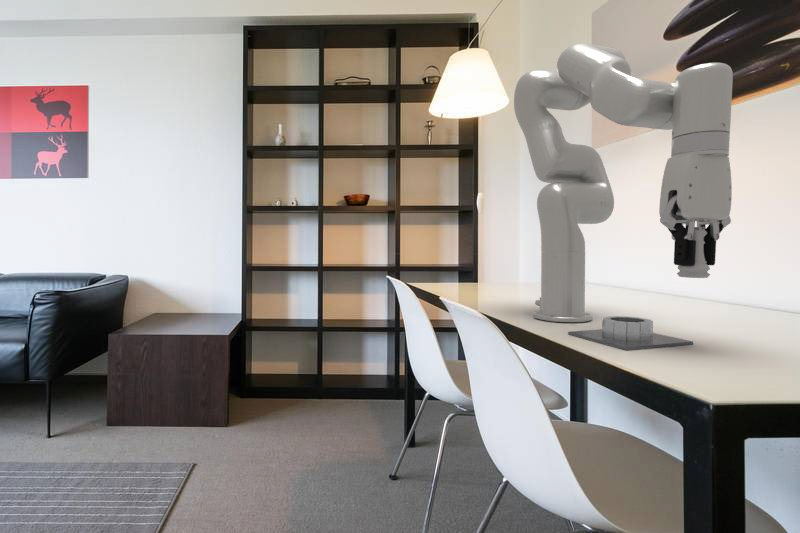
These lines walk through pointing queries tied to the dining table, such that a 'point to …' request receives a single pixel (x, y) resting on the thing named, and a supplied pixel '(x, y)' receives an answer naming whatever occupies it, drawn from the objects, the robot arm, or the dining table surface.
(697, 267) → the rook chess piece
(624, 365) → the dining table surface
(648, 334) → the socket
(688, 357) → the dining table surface
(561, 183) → the robot arm
